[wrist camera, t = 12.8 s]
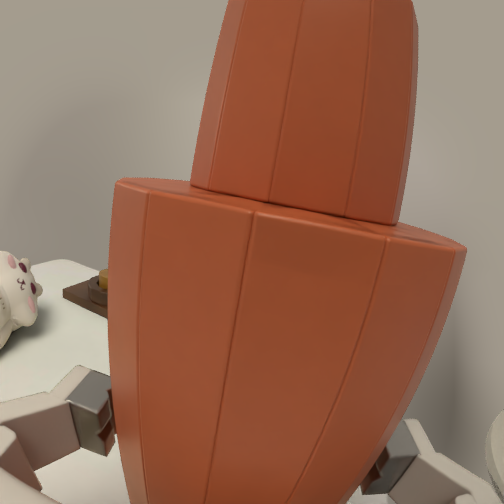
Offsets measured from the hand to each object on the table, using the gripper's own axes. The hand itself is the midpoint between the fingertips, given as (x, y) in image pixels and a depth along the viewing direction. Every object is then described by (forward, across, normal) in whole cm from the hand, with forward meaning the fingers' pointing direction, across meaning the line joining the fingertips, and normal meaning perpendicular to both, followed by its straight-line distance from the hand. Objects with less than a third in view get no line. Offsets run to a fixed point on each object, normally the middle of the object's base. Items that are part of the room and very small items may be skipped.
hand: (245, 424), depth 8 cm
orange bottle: (-1, 0, +12) cm, 12 cm away
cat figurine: (+14, +26, +12) cm, 32 cm away
